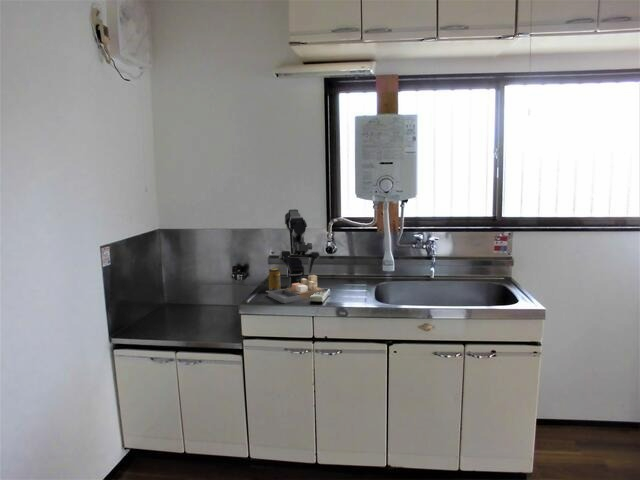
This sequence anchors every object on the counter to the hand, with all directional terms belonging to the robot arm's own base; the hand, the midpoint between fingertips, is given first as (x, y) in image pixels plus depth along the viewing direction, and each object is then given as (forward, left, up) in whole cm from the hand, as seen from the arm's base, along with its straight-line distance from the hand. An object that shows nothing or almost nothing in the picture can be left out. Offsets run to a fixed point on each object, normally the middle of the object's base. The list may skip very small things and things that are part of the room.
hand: (300, 273), depth 213 cm
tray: (-11, -3, -14) cm, 18 cm away
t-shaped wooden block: (-11, +12, -11) cm, 20 cm away
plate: (-11, +8, -14) cm, 20 cm away
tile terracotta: (-13, +5, -11) cm, 18 cm away
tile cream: (-8, +5, -11) cm, 15 cm away
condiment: (-25, -1, -14) cm, 29 cm away
